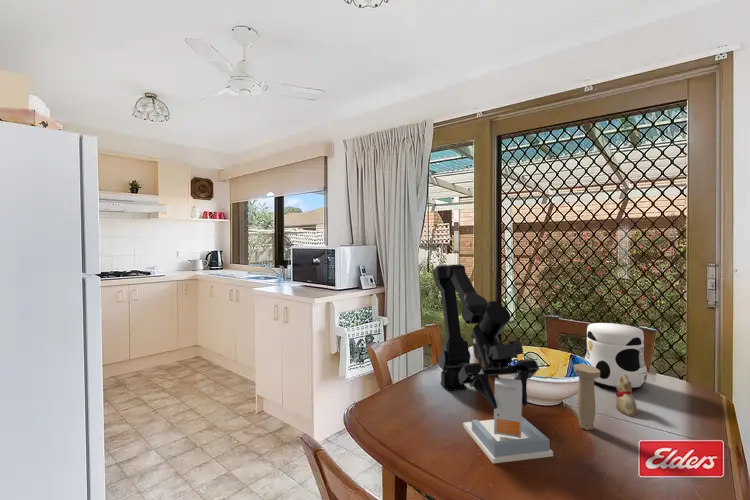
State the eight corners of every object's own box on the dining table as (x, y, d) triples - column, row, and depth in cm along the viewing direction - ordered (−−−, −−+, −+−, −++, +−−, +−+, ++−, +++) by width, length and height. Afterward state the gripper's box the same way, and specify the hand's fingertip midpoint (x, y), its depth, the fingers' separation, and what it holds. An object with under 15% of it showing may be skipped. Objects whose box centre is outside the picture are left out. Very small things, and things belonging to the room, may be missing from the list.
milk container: (575, 372, 132) (575, 321, 132) (628, 374, 130) (629, 322, 129) (597, 392, 115) (597, 334, 115) (659, 395, 113) (660, 335, 112)
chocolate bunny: (641, 408, 105) (641, 372, 104) (634, 418, 99) (635, 380, 99) (618, 402, 109) (618, 367, 108) (610, 411, 103) (610, 375, 103)
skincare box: (493, 434, 87) (494, 383, 86) (493, 425, 91) (494, 376, 90) (522, 439, 85) (522, 386, 84) (521, 429, 89) (521, 379, 88)
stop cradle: (463, 426, 96) (463, 412, 96) (514, 421, 98) (514, 408, 98) (493, 463, 80) (493, 447, 80) (553, 456, 82) (553, 440, 82)
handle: (586, 420, 98) (586, 363, 97) (604, 433, 92) (604, 372, 91) (569, 421, 97) (569, 364, 97) (585, 434, 91) (586, 373, 91)
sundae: (471, 372, 133) (471, 330, 133) (470, 366, 140) (470, 326, 139) (491, 373, 132) (491, 331, 132) (488, 367, 139) (488, 326, 138)
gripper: (462, 330, 89) (483, 396, 79) (535, 326, 92) (564, 389, 82) (450, 353, 97) (468, 415, 87) (517, 348, 100) (542, 408, 90)
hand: (510, 406), depth 86 cm, fingers closed on skincare box, 7 cm apart
